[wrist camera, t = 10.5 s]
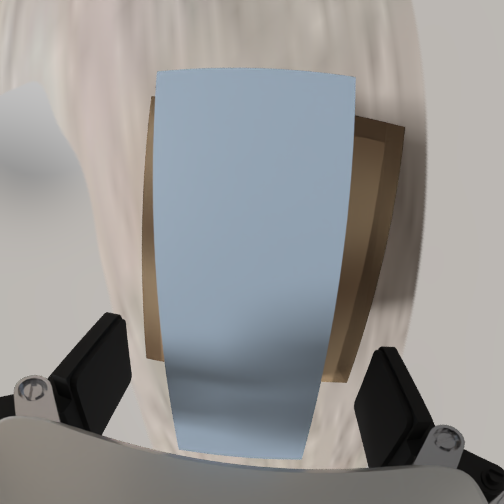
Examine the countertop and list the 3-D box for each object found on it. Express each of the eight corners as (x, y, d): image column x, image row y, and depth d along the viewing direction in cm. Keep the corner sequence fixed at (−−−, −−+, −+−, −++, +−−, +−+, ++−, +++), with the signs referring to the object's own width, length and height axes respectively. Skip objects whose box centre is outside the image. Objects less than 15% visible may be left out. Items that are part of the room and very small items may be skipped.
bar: (202, 101, 11) (157, 71, 6) (322, 106, 11) (355, 77, 6) (202, 371, 15) (178, 449, 10) (295, 377, 14) (301, 459, 10)
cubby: (196, 116, 19) (151, 96, 11) (355, 135, 18) (405, 127, 11) (184, 292, 22) (146, 358, 15) (325, 309, 22) (346, 382, 14)
